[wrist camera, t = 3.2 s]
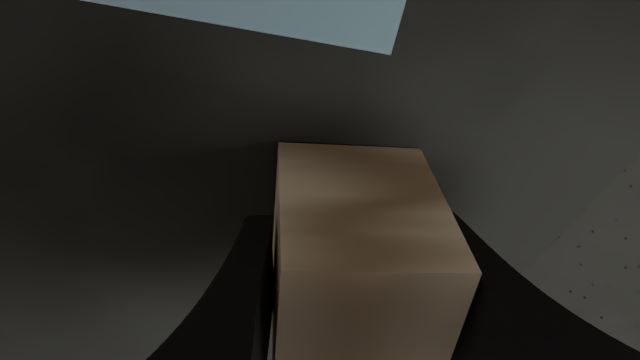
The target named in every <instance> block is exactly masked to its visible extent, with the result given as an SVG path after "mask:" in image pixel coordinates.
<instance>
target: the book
mask: <svg viewBox="0 0 640 360" xmlns="http://www.w3.org/2000/svg"><path fill="white" fill-rule="evenodd" d="M82 1H88V2H93V3H99V4H105V5H110V6H116V7H122V8H127V9H133V10H139V11H144V12H150V13H156V14H161V15H167V16H173V17H178V18H184V19H190V20H195V21H201V22H207V23H212V24H218V25H224V26H229V27H235V28H241V29H246V30H252V31H258V32H263V33H269V34H275V35H280V36H286V37H292V38H297V39H303V40H309V41H314V42H320V43H326V44H331V45H337V46H342V47H348V48H354V49H359V50H365V51H371V52H376V53H382V54H388V55H391V52H392V49H393V45H394V42H395V38H396V35H397V31H398V28H399V24H400V21H401V17H402V14H403V10H404V7H405V3H406V0H82Z"/></svg>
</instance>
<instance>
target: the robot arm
mask: <svg viewBox="0 0 640 360" xmlns="http://www.w3.org/2000/svg"><path fill="white" fill-rule="evenodd" d="M452 213H453V215H454V218H455V220H456V222H457V224H458V226H459V228H460V230H461V232H462V234H463V236H464V238H465V240H466V242H467V244H468V246H469V248H470V250H471V252H472V254H473V256H474V258H475V260H476V262H477V264H478V266H479V268H480V270H481V272H482V275H481V278H480V280H479V283H478V286H477V289H476V291H475V294H474V297H473V299H472V302H471V305H470V308H469V310H468V313H467V316H466V319H465V321H464V324H463V327H462V329H461V332H460V335H459V338H458V340H457V343H456V346H455V349H454V351H453V354H452V357H451V360H640V352H639V351H637V350H635V349H633V348H631V347H629V346H627V345H626V344H624V343H622V342H620V341H618V340H617V339H615V338H613V337H611V336H609V335H608V334H606V333H604V332H603V331H601V330H599V329H598V328H596V327H594V326H593V325H591V324H589V323H588V322H586V321H584V320H583V319H581V318H580V317H578V316H577V315H575V314H573V313H572V312H570V311H569V310H567V309H566V308H565V307H563V306H562V305H560V304H559V303H557V302H556V301H555V300H553V299H552V298H550V297H549V296H548V295H546V294H545V293H544V292H542V291H541V290H540V289H538V288H537V287H536V286H534V285H533V284H532V283H531V282H530V281H528V280H527V279H526V278H525V277H523V276H522V275H521V274H520V273H518V272H517V271H516V270H515V269H514V268H513V267H511V266H510V265H509V264H508V263H507V262H506V261H505V260H504V259H502V258H501V257H500V256H499V255H498V254H497V253H496V252H495V251H494V250H493V249H492V248H490V247H489V246H488V245H487V244H486V243H485V242H484V241H483V240H482V239H481V238H480V237H479V236H478V235H477V234H476V233H475V232H474V231H473V230H472V229H471V228H470V227H469V226H468V225H467V224H466V223H465V222H464V221H462V220H461V219H460V218H459V217H458V216H457V215H456V214H455V213H454V212H452ZM272 312H273V244H272V215H256V216H247V217H246V218H245V219H244V222H243V225H242V227H241V230H240V232H239V235H238V237H237V239H236V241H235V243H234V245H233V247H232V249H231V251H230V253H229V254H228V256H227V258H226V260H225V261H224V263H223V265H222V267H221V268H220V270H219V272H218V273H217V275H216V276H215V278H214V279H213V281H212V282H211V284H210V285H209V287H208V288H207V290H206V291H205V293H204V294H203V296H202V297H201V298H200V300H199V301H198V302H197V304H196V305H195V306H194V308H193V309H192V310H191V311H190V313H189V314H188V315H187V316H186V318H185V319H184V320H183V321H182V322H181V324H180V325H179V326H178V327H177V328H176V329H175V330H174V331H173V333H172V334H171V335H170V336H169V337H168V338H167V339H166V340H165V341H164V342H163V343H162V344H161V345H160V347H159V348H158V349H157V350H156V351H155V352H153V353H152V354H151V355H150V356H149V357H148V358H147V359H146V360H267V355H268V347H269V338H270V330H271V321H272Z"/></svg>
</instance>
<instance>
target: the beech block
mask: <svg viewBox="0 0 640 360" xmlns="http://www.w3.org/2000/svg"><path fill="white" fill-rule="evenodd" d="M481 275H482V272H481V270H480V268H479V266H478V264H477V262H476V260H475V258H474V256H473V254H472V252H471V250H470V248H469V246H468V244H467V242H466V240H465V238H464V236H463V234H462V232H461V230H460V228H459V226H458V224H457V222H456V220H455V218H454V215H453V213H452V211H451V209H450V207H449V205H448V203H447V201H446V199H445V197H444V195H443V193H442V191H441V189H440V187H439V185H438V183H437V181H436V179H435V177H434V175H433V173H432V171H431V169H430V167H429V165H428V163H427V161H426V159H425V157H424V155H423V152H422V150H421V149H419V148H396V147H374V146H351V145H328V144H306V143H283V142H278V158H277V176H276V193H275V211H274V229H273V312H272V360H451V357H452V354H453V351H454V349H455V346H456V343H457V340H458V338H459V335H460V332H461V329H462V327H463V324H464V321H465V319H466V316H467V313H468V310H469V308H470V305H471V302H472V299H473V297H474V294H475V291H476V289H477V286H478V283H479V280H480V278H481Z"/></svg>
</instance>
